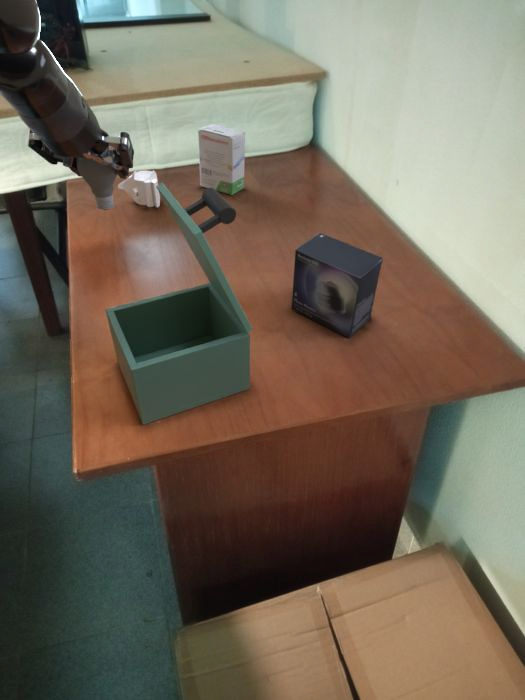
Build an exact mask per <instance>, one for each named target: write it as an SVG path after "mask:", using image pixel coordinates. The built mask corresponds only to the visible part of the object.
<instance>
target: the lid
mask: <svg viewBox="0 0 525 700" xmlns="http://www.w3.org/2000/svg"><path fill="white" fill-rule="evenodd" d="M156 187H157V189H158V191H159V194H160V197H161V199H163V201H164V203H165V205H166V207H167V209H168V211H169V213H170V214H171V216H172V218H173V219H174V221H175V223H176V225H177V226H178V229H179V230H180V233H181V234H182V235H183V237H184V239H185V241H186V242H187V245H188V246H189V248H190V250H191V251H192V253H193V255H194V257H195V259H196V260H197V263H198V264H199V266H200V267H201V269H202V271H203V272H204V274H205V276H206V278H207V280H208V281H209V283H211V284H212V286H213V287H214V288H215V290H216V291H217V292H218V294H219V295H220V297H221V298H222V299H223V301H224V302H225V304H226V305H227V306H228V308H229V309H230V310H231V312H232V313H233V315H234V316H235V317H236V319H237V320H238V321H239V323H240V324H241V326H242V327H243V328H244V330H245V331H246V332H247V333H250V332H251V331H253V327H252V324H251V323H250V320H249V319H248V317H247V315H246V313H245V311H244V309H243V307H242V306H241V303H240V301H239V300H238V298H237V296H236V294H235V292H234V291H233V288H232V286H231V284H230V282H229V281H228V279H227V277H226V275H225V272H224V271H223V269H222V267H221V265H220V264H219V260H217V258H216V256H215V253H214V252H213V249H212V248H211V246H210V244H209V243H208V240H207V238H206V237H205V234H204V233H206V232H209V230H211V229H213V228H214V227H216V226H218V225H220V224H221V223H222V224H223V225H230V224H232V223H233V222H234V221H235V219H236V217H237V211H236V209H235V208H234V207H233V206H232V205H231V204H230V203H229V202H228V201H227V200H226V199H225V198H224V197H223V195H222V194H220V193H219V191H216V190H215V189H213V188H206V189H204V190H203V192H202V194H201V198H200V199H198V200H196V201H195V202H193V203H191V204H189V205H188V206H187V207H185V208H183V206H182V205H181V203H180V202H179V201H178V200H177V199H176V197H175V196H174V195H173V194H172V192H171V191H170V190H169V189H168V187H166V185H165V184H164V183H163V182H161V183H158V185H157V186H156ZM206 207H207V208H208V210H210V212H212V213H213V216H211V217H209V218H208V219H207V220H205V221H202V222H201V223H199V224H198V225H197V223H196V222H195V221H194V219H192V217H191V216H193V215H194V214H196V213H198V212H199V211H201V210H202V209H204V208H206Z"/></svg>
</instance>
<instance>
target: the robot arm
mask: <svg viewBox="0 0 525 700" xmlns="http://www.w3.org/2000/svg"><path fill="white" fill-rule="evenodd" d="M40 32H41V15H40V9H39V6H38V3H37V0H0V96H1V97H2V98H3V99H4V100H5V101H6V102H7V103H8V104H9V105H10V106H11V108H13V110H14V111H15V112H16V114H17V115H18V117H19V118H20V120H21V121H22V122H23V123H24V124H25V126H27V128H28V129H29V132H28V142H27V147H28V148H30V149H31V150H32V151H33V152H35V153H36V154H37V155H39V157H40V156H41V158H43V160H45V161H46V162H48V163H49V164H50V165H56V166H57V165H59V164H58V163H60V164H61V163H62V166H64V167H66V168H68V169H69V170H71V172H72V173H74V174H76V176H78V177H81V178H82V176H81V175H80V173H79V171H78V169H77V158H85V157H86V158H88V159H93V160H95V161H97V162H98V163H100V164H102V165H104V166H105V165H110V166H111V167H113V168H114V170H115V171H116V173H117V176H118V177H119V179H123V180H126V179H127V177H129V174H130V169H133V168H134V157H135V149H134V146H133V143H132V139H131V136H130V133H128V132H126V131H120V132H119V136H111V135H109V133H108V132H106V130H104V129H102V128H101V126H100V123H99V120H98V118H97V116H96V114H95V113H94V111H93V110H92V108H91V107H90V105H89V104H88V102H87V101H86V99H85V98H84V96H83V94H82V93H81V91H80V90H79V88H78V87H77V86H76V84H75V83H74V81H73V80H72V79H71V78H70V76H69V75H67V74H66V73H65V71H64V70H63V68H62V67H61V65H60V64H59V62H58V61H57V60H56V58H55V56H54V55H53V53H52V52H51V50H50V49H49V48H48V46H47V45H46V44H45V42H43V41H42V40H41V39H40ZM102 154H103V156H101V155H102ZM113 154H114V160H113V158H112V156H113Z"/></svg>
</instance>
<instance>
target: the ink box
mask: <svg viewBox="0 0 525 700" xmlns="http://www.w3.org/2000/svg"><path fill="white" fill-rule="evenodd" d="M197 133H198V134H197V136H198V137H197V138H198V161H199V185H200V187H202V188H206V189H208V188H213V189H215V190H216V191H217V192H218V193H219V192H220V193H223V194H226V195H230V196H233V195H235V194H236V193H238V192H240V191H241V190H243V189H244V188H245V160H246V159H245V156H246V155H245V154H246V151H245V149H246V132H245V131H242V130H239V129H235V128H230V127H227V126H223V125H219V124H216V123H215V124H214V123H211V124H208V125H206V126H203V127H199V128H198V130H197Z"/></svg>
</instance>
